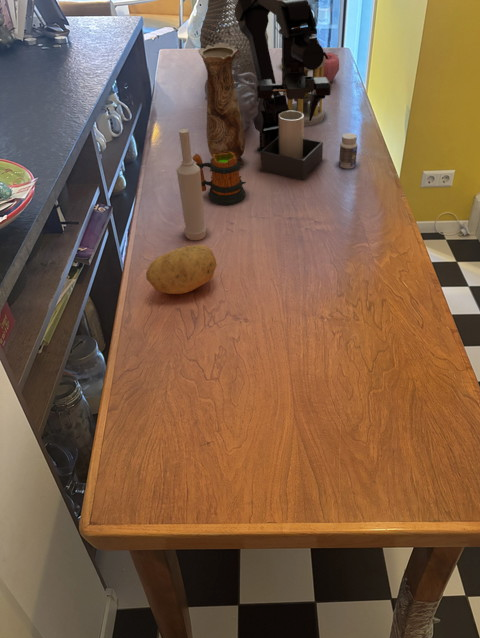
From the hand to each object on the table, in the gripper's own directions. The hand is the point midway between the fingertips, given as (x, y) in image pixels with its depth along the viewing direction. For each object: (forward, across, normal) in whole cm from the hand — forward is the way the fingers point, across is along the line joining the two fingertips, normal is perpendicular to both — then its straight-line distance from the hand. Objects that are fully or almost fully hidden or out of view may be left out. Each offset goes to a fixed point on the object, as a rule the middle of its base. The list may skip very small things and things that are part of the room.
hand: (292, 121), depth 160 cm
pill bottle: (+13, +16, 0) cm, 20 cm away
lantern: (+13, +7, +36) cm, 39 cm away
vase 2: (+13, -18, +4) cm, 23 cm away
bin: (+13, 0, +1) cm, 13 cm away
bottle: (+13, -27, -32) cm, 44 cm away
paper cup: (+12, 0, +4) cm, 13 cm away
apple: (+13, +20, +68) cm, 72 cm away
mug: (+13, -20, -14) cm, 28 cm away
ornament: (+13, -14, +29) cm, 34 cm away
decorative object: (+13, -14, +88) cm, 90 cm away
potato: (+13, -29, -53) cm, 62 cm away
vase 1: (+13, -13, +56) cm, 59 cm away
